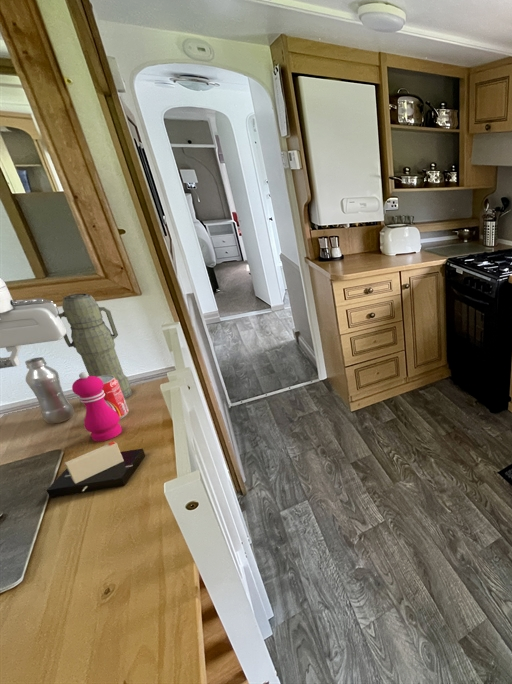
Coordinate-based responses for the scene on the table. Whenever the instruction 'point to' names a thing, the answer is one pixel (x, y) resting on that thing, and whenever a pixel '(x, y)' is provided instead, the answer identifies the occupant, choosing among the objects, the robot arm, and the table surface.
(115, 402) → the soda can
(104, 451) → the cream block red end
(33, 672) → the table surface
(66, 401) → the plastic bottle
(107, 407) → the pepper mill
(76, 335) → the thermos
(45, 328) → the robot arm
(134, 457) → the panel
